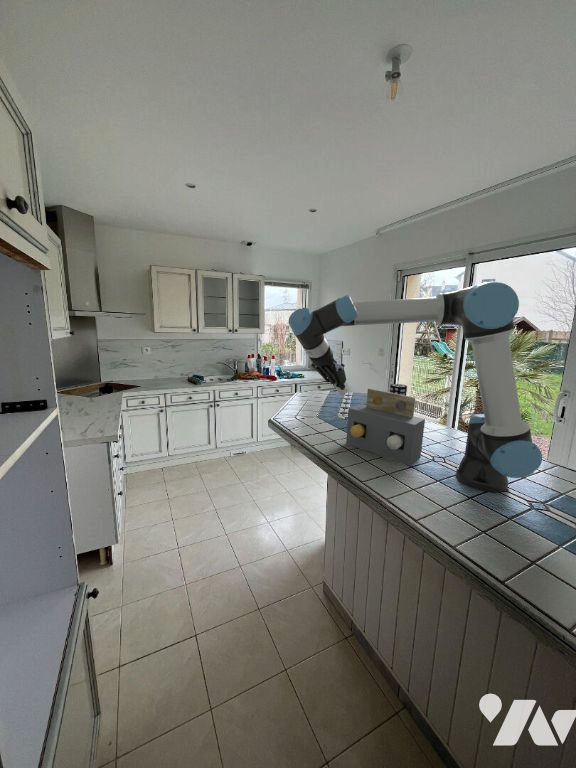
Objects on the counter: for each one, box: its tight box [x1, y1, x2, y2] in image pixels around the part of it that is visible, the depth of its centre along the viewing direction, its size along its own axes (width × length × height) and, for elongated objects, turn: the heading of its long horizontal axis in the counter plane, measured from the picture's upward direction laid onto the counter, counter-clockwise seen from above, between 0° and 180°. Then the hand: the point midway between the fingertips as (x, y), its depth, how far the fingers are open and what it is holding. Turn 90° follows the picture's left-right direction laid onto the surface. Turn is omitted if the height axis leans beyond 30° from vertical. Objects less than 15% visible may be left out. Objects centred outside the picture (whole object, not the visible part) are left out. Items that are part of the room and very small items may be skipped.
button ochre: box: [350, 424, 366, 438], centre depth 128 cm, size 4×5×5 cm
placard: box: [365, 388, 416, 418], centre depth 127 cm, size 1×20×8 cm, turn 46°
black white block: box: [389, 383, 408, 396], centre depth 163 cm, size 8×8×20 cm
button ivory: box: [387, 434, 404, 450], centre depth 117 cm, size 4×5×5 cm
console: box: [345, 403, 426, 467], centre depth 127 cm, size 10×28×16 cm, turn 46°
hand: (343, 393), depth 116 cm, fingers closed
